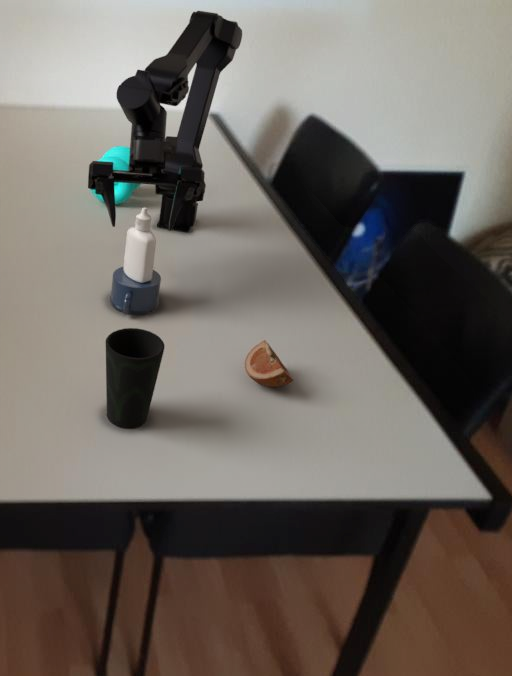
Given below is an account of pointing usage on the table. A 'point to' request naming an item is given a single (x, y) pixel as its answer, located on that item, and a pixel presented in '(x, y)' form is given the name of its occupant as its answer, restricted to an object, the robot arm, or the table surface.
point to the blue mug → (134, 293)
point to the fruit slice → (266, 366)
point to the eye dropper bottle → (140, 249)
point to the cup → (131, 375)
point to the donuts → (119, 163)
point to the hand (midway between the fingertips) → (141, 227)
